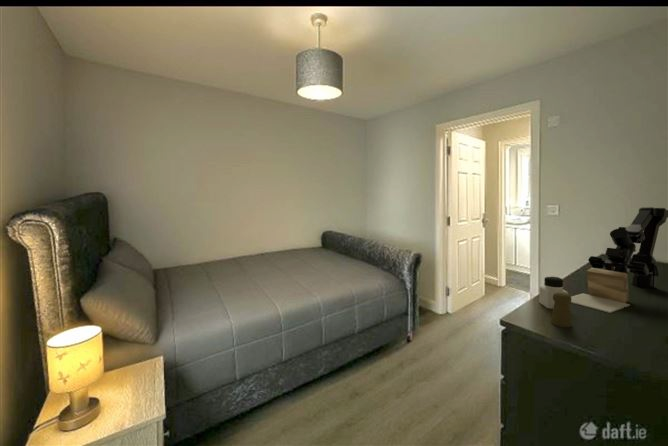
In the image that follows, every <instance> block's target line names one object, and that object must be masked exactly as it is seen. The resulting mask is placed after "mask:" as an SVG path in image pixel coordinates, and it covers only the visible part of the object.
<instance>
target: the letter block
mask: <svg viewBox="0 0 668 446" xmlns="http://www.w3.org/2000/svg"><path fill="white" fill-rule="evenodd" d="M586 279H587V280H586V281H588V285H587V288H588V289H587V290H588V295H592V296H596V297H601V298H605V299H609V300H614V301H618V302H622V303H626V304H627V303H628V301H630V295H629V281H628V279H629V278H628V274H627V273H622V272H615V271H609V270H606V269H603V268H601V269H599V268H590V267H589V268H588V269H587V270H586Z"/></svg>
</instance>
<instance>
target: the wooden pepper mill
mask: <svg viewBox="0 0 668 446" xmlns="http://www.w3.org/2000/svg"><path fill="white" fill-rule="evenodd" d="M571 297H572V296H571V295H570V294H569V293H568V294H566V293H554V294H553V300H554V301H555V303H554V308H553V309H552V313H551V319H550V323H551V324H552V325H554V326H557V327H559V328H560V327H561V328H572V327H573V321H572V314H571V309H570V307H571V306H570V304H572V303H571Z"/></svg>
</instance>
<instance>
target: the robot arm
mask: <svg viewBox="0 0 668 446" xmlns="http://www.w3.org/2000/svg"><path fill="white" fill-rule="evenodd" d="M667 219H668V209H666V208H665V207H653V206H652V207H650V206H648V207H643V206H642V207H640V208H639V209H638V213H637V214H636V216H635V218H634V219H633V220H632V222H631V223H630V225H628V226H625V227H624V226H619V227H618V228H615V229H613V230H612V231H610V232H609V236H610V238H611V240H612V241H613V244H614V245H615V246H616V247H615V248H614V247H613V248H612V247H606V250H605V254H604V255H605V256H607V259H605V260H603V257H602V256H593V255H592V256H589V258H588V259H587V260H588V262H589V264H590V265H591V266H592V267H594V268H597V269H603V268H604V269H605V270H609V271H615V272H622V273H627V275H629V274H633V276H632V282H631V283H630V285H631V286H635V287H637V288H641V289H657V288H658V287H657V286H655V277H659V276H660V269H659V267H658V264H657V260H656V259H655V257H654V250H655V247H656V244H657V243H656V242H657V238H658V234H659V229H660V226H662V225H664V224H665V223H666V221H667ZM636 244H640V246H639V249H638V252H637V253H636V251H637V249H636V247H637V246H636ZM634 252H635V253H634ZM629 272H630V273H629Z"/></svg>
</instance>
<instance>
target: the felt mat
mask: <svg viewBox="0 0 668 446" xmlns="http://www.w3.org/2000/svg"><path fill="white" fill-rule="evenodd" d="M570 304H574V305H578V306H581V307H586V308H589V309H594V310H597V311H601V312H605V313H608V314H611V313H614V312H617V311H619V310H622V309H625V308H627V307H629V306H631V304H630V303H627V302H626V303H622V302H618V301H614V300H609V299H605V298H601V297H596V296H592V295H589V293H588V294H587V293H583V292H582V293H579V294H576V295H572V296H571V303H570ZM624 307H625V308H624Z"/></svg>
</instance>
